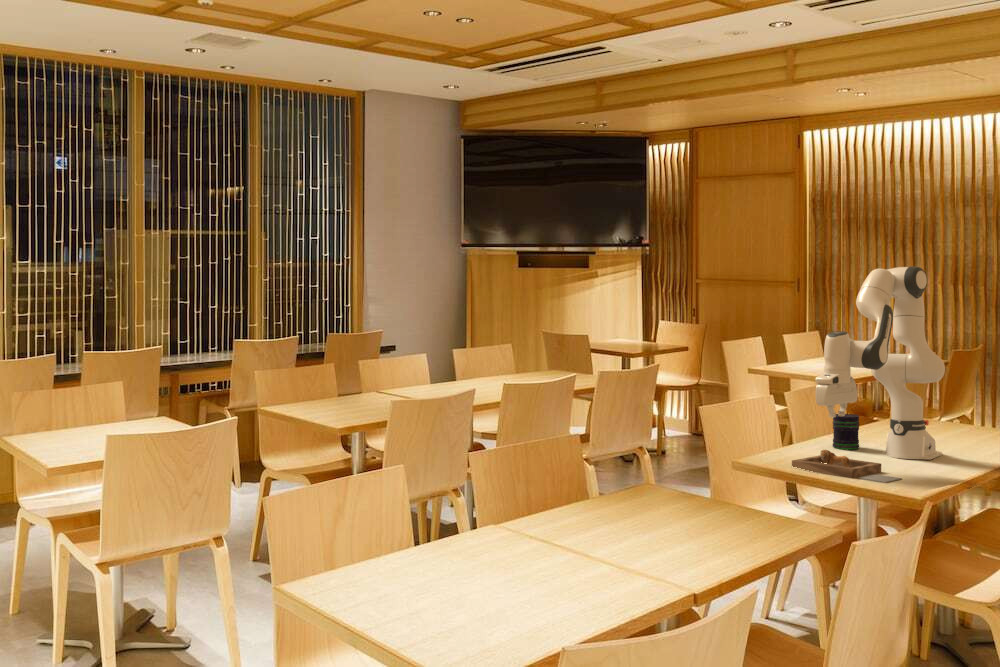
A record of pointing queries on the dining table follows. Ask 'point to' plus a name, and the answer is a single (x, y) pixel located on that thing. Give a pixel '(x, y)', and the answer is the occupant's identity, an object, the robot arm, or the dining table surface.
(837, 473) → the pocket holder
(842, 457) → the lion figurine
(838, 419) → the storage jar
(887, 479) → the rubber mat
